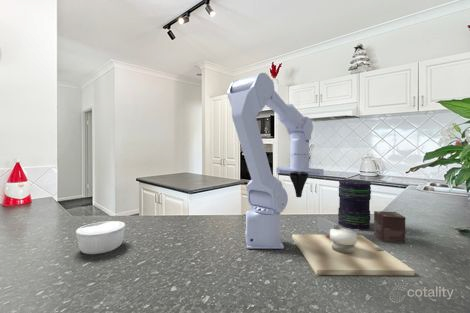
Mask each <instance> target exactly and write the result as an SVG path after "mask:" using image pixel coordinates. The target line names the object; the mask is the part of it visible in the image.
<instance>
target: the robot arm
mask: <svg viewBox="0 0 470 313" xmlns="http://www.w3.org/2000/svg"><path fill="white" fill-rule="evenodd" d="M226 93H227V97H228V101H229V105H230V108H231V117H232V122H233V126H234V128H235V131H236V135H237V138H238V141H239V144H240V146H241V150H242V154H243V156H244V159H245V163H246V166H247V170H248V173H249V176H250V180H249V181H248V182H247V184H246V186H245V187H246V192H247V195H246V196H247V202H248V204H249V206H251V210H250V209H249V210H246V211H245V230H244V238H245V242H246V243H245V244H246V248H247V249H265V250H267V249H269V250H270V249H271V250H273V249H276V250H277V249H281V250H283V249H285V245H284V244H283V242H282V240H281V213H283V212H284V210H285V209H286V207H287V204H288V199H289V198H288V192H287V191H286V189H285V187H283V183H282V181H281V180H279V179H278V178H277V177H276V176H274V175H273V174H272V170H271V166H270V164H269V163H270V162H269V159H268V156H267V153H266V149H265V145H264V141H263V137H262V134H261V131H260V127H259V125H258V124H259V122H258V120H257V117H258V115H259V113H261V112H262V111H263V110H264V108H265V107H267V108H269V109H271V110H272V111H273V112H275V114H276V117H277V120H278V121H279V122H280V123H282V124H283V125H284V126H285V128H286V131H287V133H288V135H290V161H289V162H290V163H289V164H290V165H289V166H288V167H285V166H283V167H280V166H279V167H276V170H275V171H276V174H288V175H289V178H290V180H291V182H292V186H293V187H294V192H295V198H302V194H303V190H304V187H305V184H306V182H307V180H308V178H309V176H321V177H322V176H324V169H323V168H314V167H313V168H311V167H310V165H309V164H310V163H309V162H310V141H311V139H312V133H313V130H314V125H313V121H312V119H311V118H310V117H309V116H304V115H303V114H302V113H301V112H300V111H299V110H298V109H297V108H296V107H295V106H294V105H293V104H292V103H286V102H285V101H284V100H283V99H282V98H281V96H280V94H278V93H277V92H276V90H275V82H274V80H273V79H272V78H271V77H270V76H269V74H267V73H266V72H260V73H258V74H256V75H252V76H249V77H244V78H242V79H236V80H233V81H232V82H231V83H230V85H229V88H228V90H227V92H226Z"/></svg>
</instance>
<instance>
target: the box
mask: <svg viewBox="0 0 470 313" xmlns="http://www.w3.org/2000/svg"><path fill="white" fill-rule="evenodd" d="M406 218H407V217H406V216H403V215H401V214H400V213H399V212H396V211H383V210H374V211H373V235H374V236H375V237H376V238H378V239H379V240H380V241H381V242H386V243H399V244H405V243H406V220H407V219H406Z"/></svg>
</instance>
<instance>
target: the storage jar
mask: <svg viewBox="0 0 470 313" xmlns="http://www.w3.org/2000/svg"><path fill="white" fill-rule="evenodd" d="M338 184H339V185H338V194H337V195H338V198H339V200H338V201H339V205H338V212H337V217H338V223H337V224H338V225H339V227H343V228H344V229H348V228H350V229H349V230H354V229H359V230H358V231H366V230H365V229H367V230H369V229H370V228H371V225H370V224H371V210H370V206H371V205H370V204H371V202H370V201H371V199H372V196H371V194H372V189H371V188H372V187H371V185H372V183H371V181H365V180H358V179H340V180H338Z"/></svg>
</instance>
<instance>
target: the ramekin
mask: <svg viewBox="0 0 470 313" xmlns="http://www.w3.org/2000/svg"><path fill="white" fill-rule="evenodd" d="M125 230H126V223H125V222H123V221H119V220H117V221H116V220H109V221H98V222H93V223H89V224H85V225H83V226H80V227H78V228H77V229H76V230H75V236H76V238H77V243H78V248H79V251H80V252H81V253H83V254H86V255H98V254H106V253H109V252H113V251H114V250H116V249H118V248H119V247H120V246H121V245H122V243H123V240H124V236H125Z"/></svg>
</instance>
